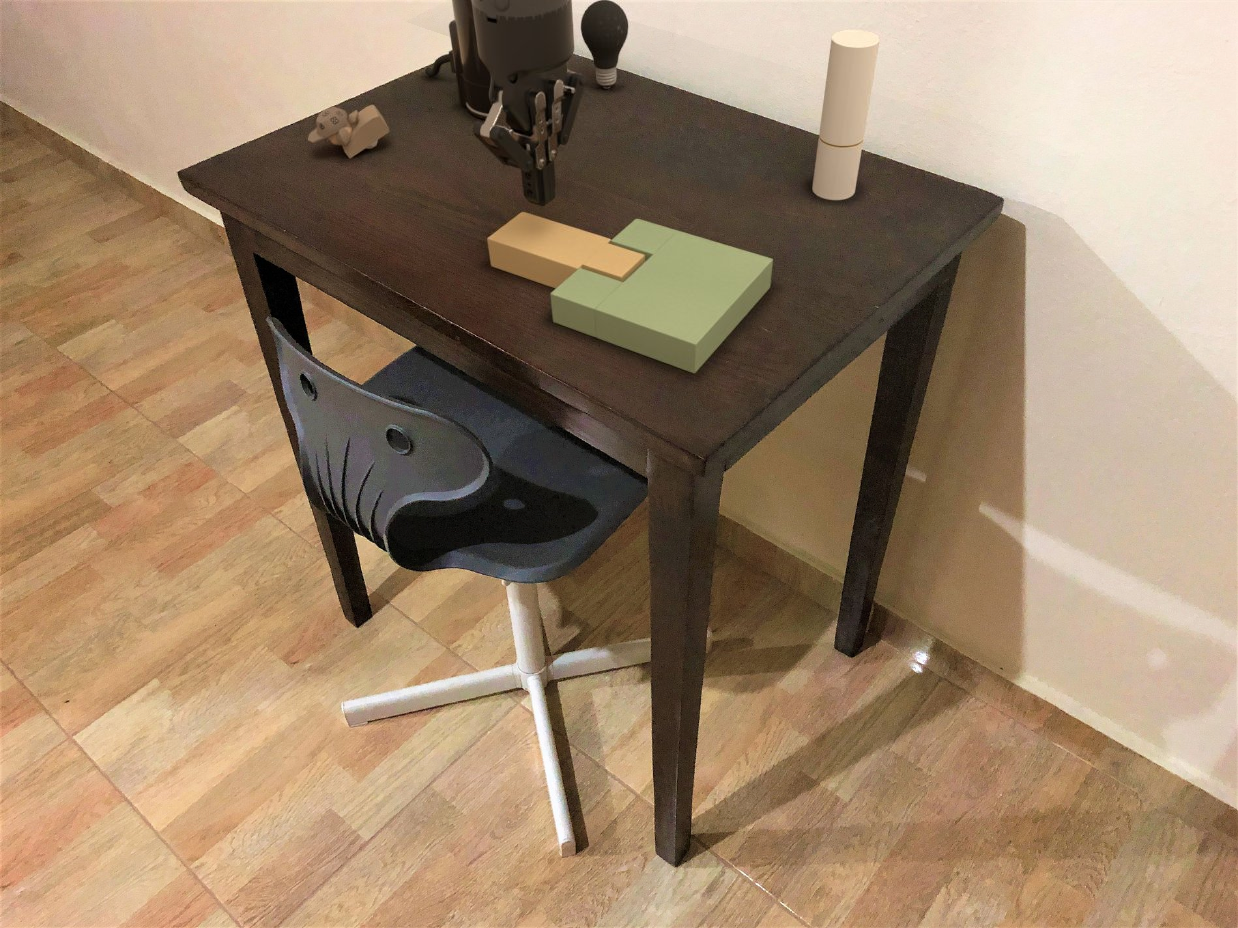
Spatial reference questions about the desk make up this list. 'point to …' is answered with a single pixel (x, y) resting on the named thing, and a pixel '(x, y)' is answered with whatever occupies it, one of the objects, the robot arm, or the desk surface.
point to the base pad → (666, 296)
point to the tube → (844, 112)
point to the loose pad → (557, 251)
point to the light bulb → (604, 37)
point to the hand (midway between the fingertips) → (540, 201)
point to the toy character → (350, 129)
